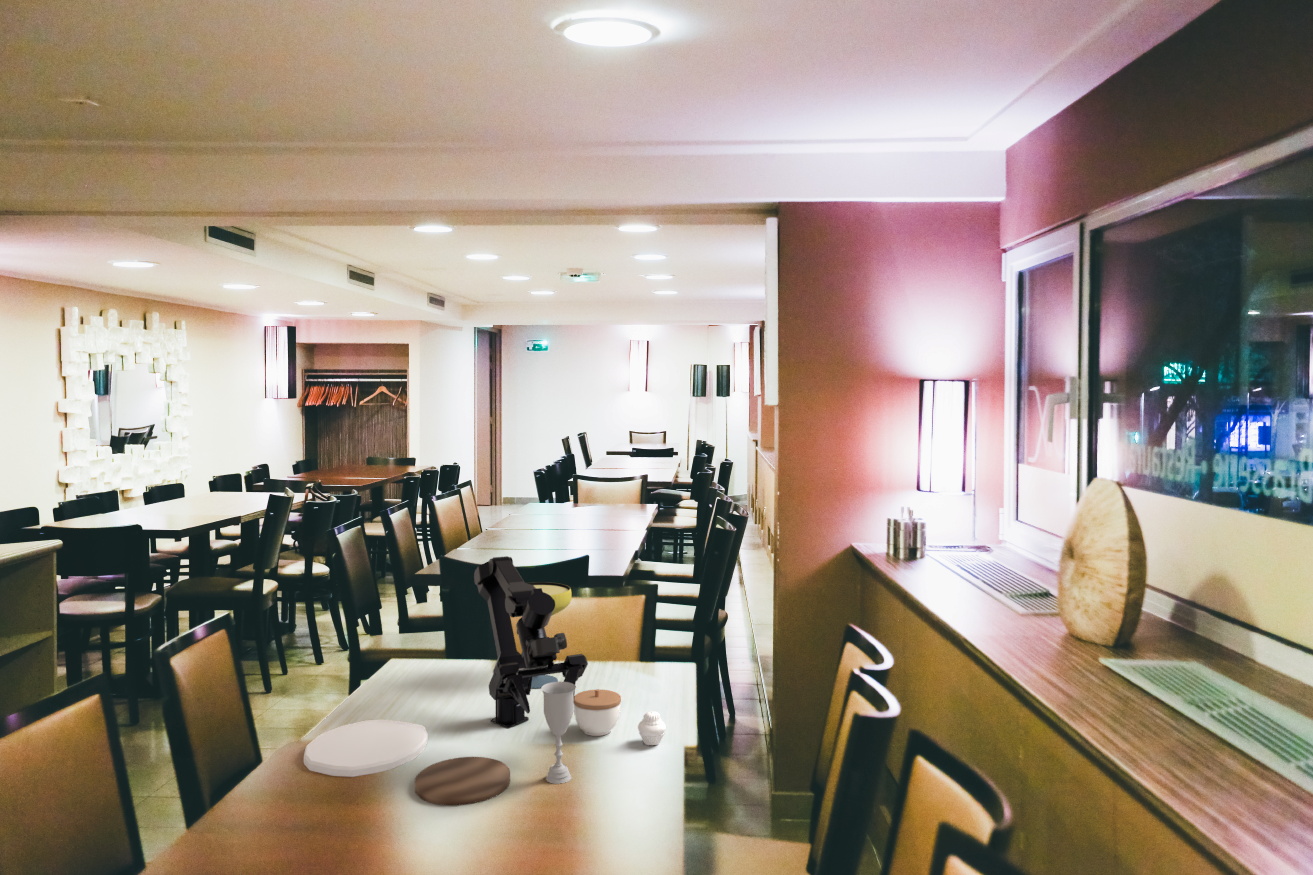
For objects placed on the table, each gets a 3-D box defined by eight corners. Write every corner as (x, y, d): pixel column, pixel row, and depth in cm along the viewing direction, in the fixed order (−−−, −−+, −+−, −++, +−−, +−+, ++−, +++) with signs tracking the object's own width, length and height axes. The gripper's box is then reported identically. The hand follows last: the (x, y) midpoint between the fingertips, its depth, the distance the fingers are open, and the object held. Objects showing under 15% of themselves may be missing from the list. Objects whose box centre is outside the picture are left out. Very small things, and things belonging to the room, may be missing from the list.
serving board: (395, 787, 160) (395, 779, 160) (468, 756, 175) (468, 749, 174) (456, 814, 149) (456, 806, 149) (529, 779, 164) (529, 771, 164)
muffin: (669, 739, 184) (669, 708, 184) (660, 750, 178) (660, 717, 178) (643, 735, 186) (643, 704, 186) (633, 746, 180) (633, 714, 180)
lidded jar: (614, 741, 183) (614, 699, 182) (567, 737, 185) (567, 695, 184) (625, 724, 193) (625, 683, 193) (581, 720, 195) (581, 680, 195)
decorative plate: (358, 705, 194) (449, 720, 185) (358, 723, 194) (449, 738, 185) (274, 746, 170) (374, 765, 162) (275, 766, 170) (374, 786, 162)
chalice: (542, 770, 168) (542, 681, 167) (576, 769, 168) (576, 681, 168) (540, 786, 161) (540, 694, 160) (575, 785, 161) (575, 693, 161)
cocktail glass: (567, 693, 214) (567, 596, 213) (496, 693, 214) (496, 596, 213) (575, 671, 232) (575, 582, 231) (510, 671, 232) (509, 581, 231)
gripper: (497, 625, 168) (513, 696, 159) (584, 615, 177) (604, 682, 167) (488, 654, 176) (502, 723, 166) (571, 643, 184) (590, 709, 174)
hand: (550, 708), depth 168 cm, fingers open, 9 cm apart
